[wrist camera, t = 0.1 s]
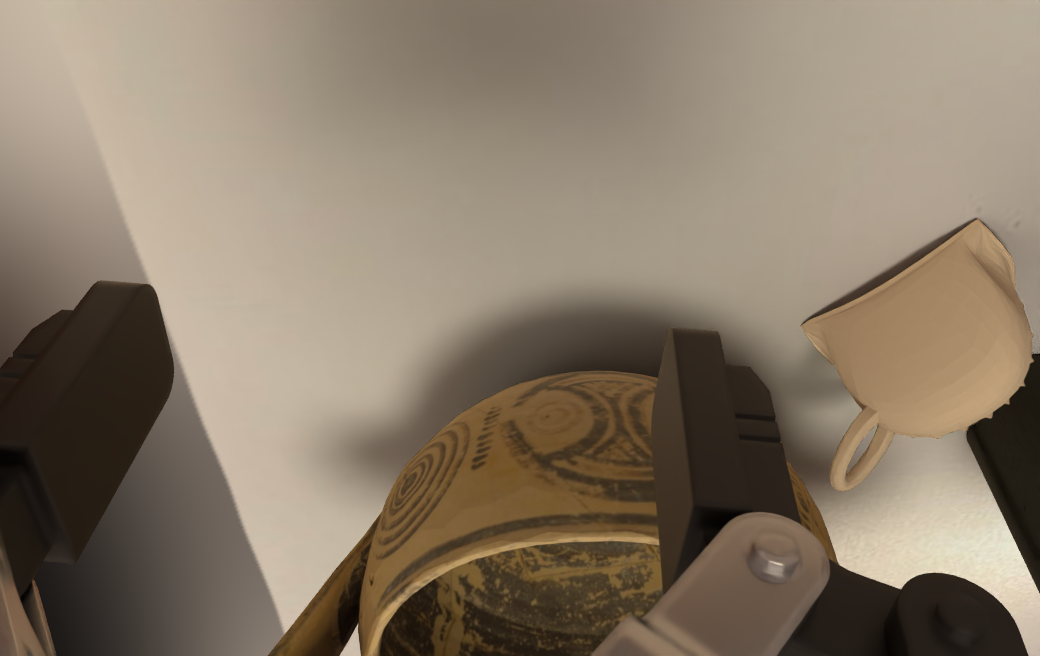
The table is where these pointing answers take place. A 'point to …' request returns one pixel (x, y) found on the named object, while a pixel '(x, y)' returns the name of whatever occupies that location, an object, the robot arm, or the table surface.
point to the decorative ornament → (928, 348)
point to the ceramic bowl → (512, 531)
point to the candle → (1015, 464)
